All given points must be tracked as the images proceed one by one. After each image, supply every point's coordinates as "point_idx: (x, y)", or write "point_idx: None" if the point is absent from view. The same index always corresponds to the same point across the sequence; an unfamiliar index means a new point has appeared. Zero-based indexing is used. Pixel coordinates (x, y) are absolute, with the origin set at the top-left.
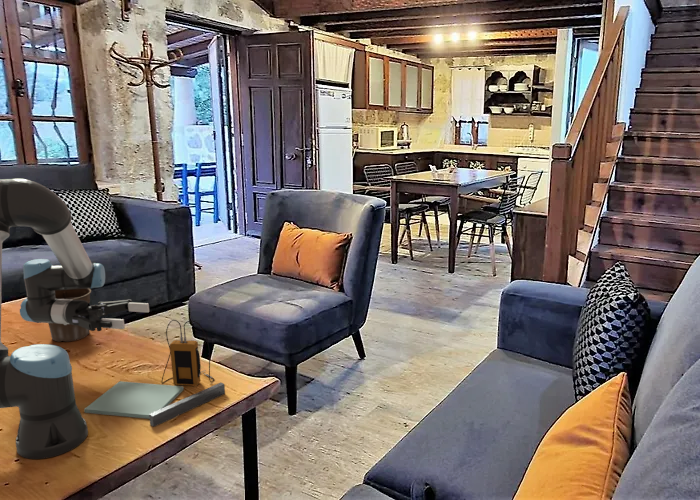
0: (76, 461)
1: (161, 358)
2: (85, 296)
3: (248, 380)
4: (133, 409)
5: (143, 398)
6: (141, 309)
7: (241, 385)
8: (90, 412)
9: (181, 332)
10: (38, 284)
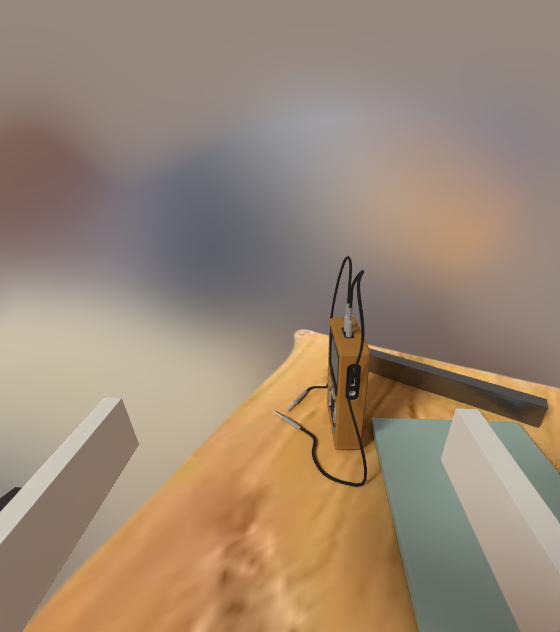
0: None
1: (156, 593)
2: None
3: (303, 348)
4: (543, 481)
5: None
6: (101, 477)
7: (323, 352)
8: None
9: (350, 307)
10: None
